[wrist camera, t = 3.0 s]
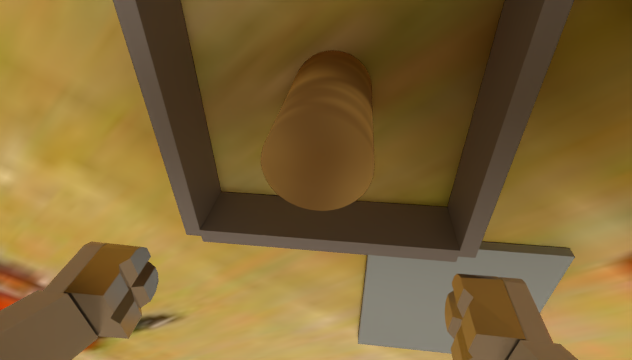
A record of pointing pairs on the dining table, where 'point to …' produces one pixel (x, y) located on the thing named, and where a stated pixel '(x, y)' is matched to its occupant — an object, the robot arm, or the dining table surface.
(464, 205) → the frame
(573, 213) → the dining table surface
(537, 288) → the mat
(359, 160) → the peg
